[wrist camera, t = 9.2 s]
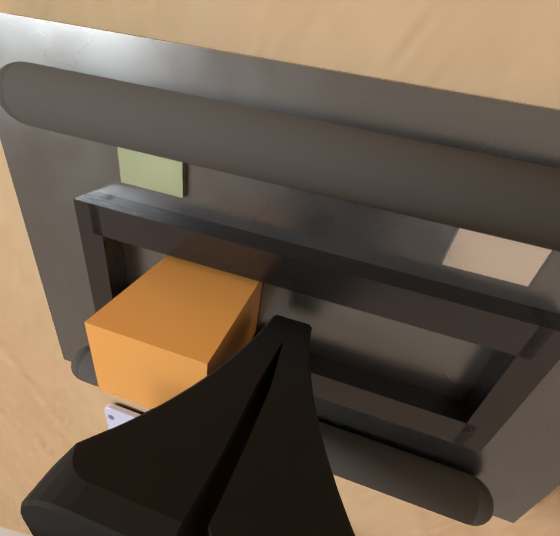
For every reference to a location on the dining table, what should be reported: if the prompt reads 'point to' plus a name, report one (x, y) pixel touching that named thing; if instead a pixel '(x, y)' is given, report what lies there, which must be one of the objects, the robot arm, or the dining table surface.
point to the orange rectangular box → (171, 330)
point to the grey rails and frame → (319, 180)
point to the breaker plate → (316, 250)
